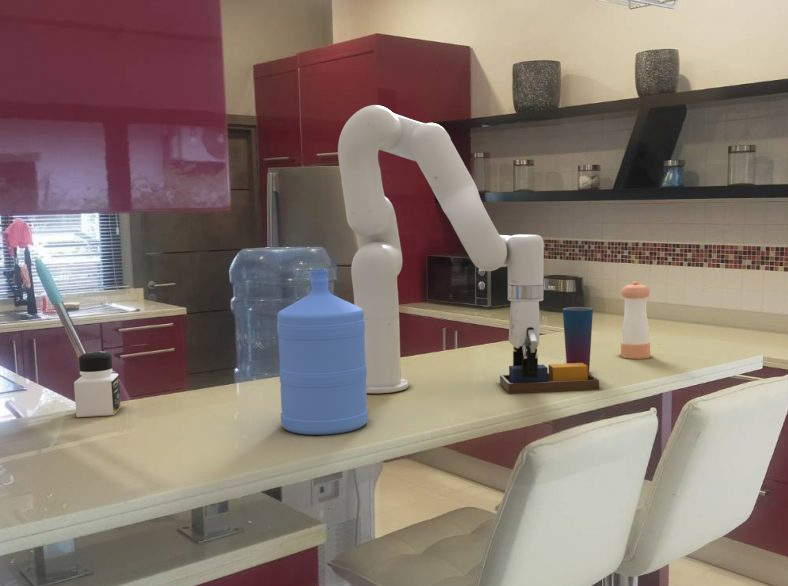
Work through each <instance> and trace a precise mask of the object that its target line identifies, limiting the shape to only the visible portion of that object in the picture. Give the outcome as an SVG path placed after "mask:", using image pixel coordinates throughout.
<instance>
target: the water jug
mask: <svg viewBox="0 0 788 586" xmlns="http://www.w3.org/2000/svg"><path fill="white" fill-rule="evenodd" d="M309 273H310V278H311V279H310V281H309V282H310V287H311V288H310V292H309V294H308V295H306V296H304V297H303V298H301V299H299V300H297V301H296V302H294V303H291V304H289V305H288V306H286V307H284V308H283V309H280V310H279V311H278V312H277V314H276V315H277V316H276V318H277V322H276V334H277V338H278V339H277V340H278V341H277V343H278V357H279V358H278V359H279V360H278V361H279V383H280V408H281V409H280V410H281V413H280V424H281V426H282V427H283V428H284V429H285V430H286V431H288V432H291V433H293V434H294V433H295V434H298V435H299V434H300V435H308V436H309V435H311V436H324V435H337V434H343V433H344V434H345V433H348V432H352V431H355V430H359V429H360V428H362V427H363V426H365V425H366V424H367V423H368V420H369V409H368V399H367V398H368V396H367V394H368V393H366V377H367V368H366V363H365V334H364V333H365V319H364V311H363V309H362V308H360V307H358V306H356V305H354V303H352V302H349V301H348V300H345V299H342V298H340V297H338V296H336V295H334V294H332V292H330V289H329V282H330V281H329V278H328V273H329V270H328V269H316V270H315V269H314V270H309Z"/></svg>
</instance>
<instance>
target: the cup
mask: <svg viewBox="0 0 788 586" xmlns="http://www.w3.org/2000/svg"><path fill="white" fill-rule="evenodd" d="M593 312H594V308H593V307H588V306H587V307H585V306H572V307H571V306H570V307H564V308H562V321H563V333H564V335H563V336H564V345H565V346H564V350H565V364H568V363H583V364H585V365H587V366H588V373H589V374H590V368H591V367H590V366H591V365H590V364H591V350H592V349H591V348H592V346H591V345H592V332H593V314H594V313H593Z"/></svg>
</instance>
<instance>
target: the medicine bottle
mask: <svg viewBox="0 0 788 586" xmlns="http://www.w3.org/2000/svg"><path fill="white" fill-rule="evenodd" d="M112 358H113V357H112V354H111V353H109V352H107V351H91V352H85V353H82V354H81V355H79V357H78V366H79V367H78V368H79V375H80V377H79V378H77V379H76V380H75V381H74V382H73V389H74V402H75V414H76V415H75V416H76V417H77V418H90V417H91V418H93V417H106V416H109V417H110V416H115V414H116V413H118V411H119V410H120V409H121V407H122V406H121V405H122V403H121V391H120V375H119V373H115V372H113V371H114V370H113V359H112Z"/></svg>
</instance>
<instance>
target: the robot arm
mask: <svg viewBox="0 0 788 586" xmlns="http://www.w3.org/2000/svg"><path fill="white" fill-rule="evenodd" d="M451 139H452V138H451V136H450V135H449V133H448V131H447V130H446V129H445V128H444V127H443V126H441V125H440V124H438V123H434V122H427V123H425V122H420V121H418V120H414V119H411V118H408V117H405V116H403V115H400V114H398V113H397V114H396V113H394V112H392V111H391V110H390V109H389V108H387V107H385V106H382V105H379V104H372V105H367V106H365V107H362V108H360V109H359V110H358V111H356V112H355V113H354V114H353V115H351V117H349V118H348V119H347V121H346V122H345V124H344V126H343V128H342V130H341V132H340V135H339V138H338V143H337V158H338V166H339V173H340V179H341V188H342V194H343V200H344V208H345V214H346V215H345V218H346V221H347V224H348V226H349V228H350V229H351V230H352V231H353V232H354V233H355V234H356V240H357V246H358V249H357V250H356V252H355V253H354V255H353V258H352V260H351V267H350V271H351V283H352V292H353V304H354V305H356V306H358V307H360V308H362V309H363V311H364V319H365V333H364V334H365V363H366V368H367V377H366V393H367V394H390V393H396V392H401V391H403V390H407V389H408V388H409V381H408V380H407V379H404V378H402V368H401V367H402V365H401V337H400V336H401V335H400V334H401V332H400V331H401V328H400V306H399V304H400V303H399V290H398V276H399V275H400V273H401V271H402V268H403V261H404V260H403V252H402V247H401V241H400V234H399V228H398V221H397V216H396V212H395V209H394V208H395V207H394V206H393V204H392V202H391V201H390V199H389V198H388V197H386V196H385V192H384V187H383V186H384V185H383V180H382V171H381V167H380V162H379V151H382V152H386V153H389V154H391V155H395V156H398V157H401V158H404V159H407V160H410V161H413V162H416V163H417V165H418V167H419V169H420V171H421V173H422V174H423V176H424V178H425V179H426V181H427V183H428V185H429V186H430V189H431V190H432V192H433V194H434V196H435V198H436V199H437V201H438V203H439V205H440V207H441V209H442V211H443V212H444V214H445V216H446V217H447V219H448V220H449V222H450V224H451V226H452V228H453V230H454V231H455V233H456V235H457V237H458V239H459V241H460V243H461V245H462V246H463V248H464V250H465V252H466V253H467V255H468V257H469V258H470V260H471V262H472V263H473V265H474V266H475V267H476V268H478V269H479V270H481V271H484V272H492V271H496V270H498V269H500V268H505V267H507V301H509V302H510V308H509V321H508V322H509V323H508V325H509V326H508V342H509V344H511V345H512V348H513V351H512V366H520V365H522V377H523V378H537V377H538V365H539V359H538V358H539V356H538V347H539V346H540V337H541V336H540V334H541V333H540V331H541V329H540V328H541V327H540V326H541V324H540V323H541V322H540V302H543V301H544V275H545V274H544V272H545V271H544V268H545V267H544V265H545V264H544V256H545V244H544V243H545V242H544V239H543V237H542V236H541V235H539V234H513V235H504V234H500V233H499V232H498V230H497V228H496V225H494V222H493V221H492V220H491V217H490V215H489V214H488V211H487V210H486V207H485V206H484V203H483V201H482V199H481V196H480V193H479V190H478V187H477V185H476V183H475V181H474V179H473V177H472V175H471V174H470V171H469V170H468V168H467V166H466V165H465V162H464V161H463V159H462V157H461V156H460V154H459V152H458V150H457V149H456V146H455V144H454V143H453V141H452V140H451Z"/></svg>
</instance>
